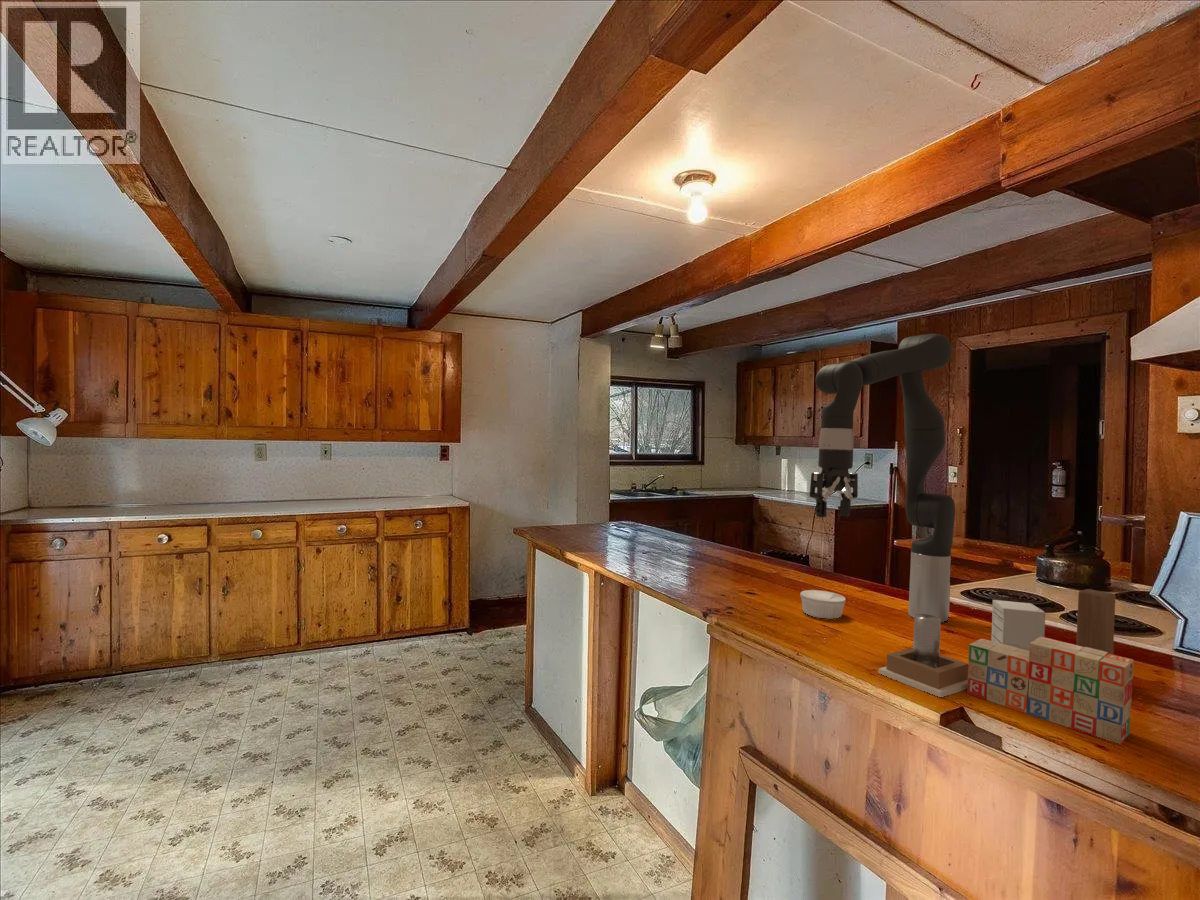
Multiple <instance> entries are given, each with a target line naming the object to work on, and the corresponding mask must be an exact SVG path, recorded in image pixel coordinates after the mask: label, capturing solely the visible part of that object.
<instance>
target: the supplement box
mask: <svg viewBox="0 0 1200 900" xmlns="http://www.w3.org/2000/svg"><path fill="white" fill-rule="evenodd" d="M991 612H992V616H991V637H990V638H991V640H990V641H993V642H997V643H1001V644H1005V645H1009V646H1012V647H1016V648H1019V649H1023V650H1027V651H1029V649H1030V643H1031V642H1033V641H1035V640H1036V639H1037V638H1039V637H1044V638H1045V634H1046V633H1045V631H1046V612H1045V611H1044V610H1043V609H1041V608H1040V607H1037V606H1036V605H1034V604H1033V603H1031V602H1030V603H1029V602H1020V601H1019V602H1018V601H1010V600H1009V601H1008V600H1000V599H999V600H998V599H992V611H991Z"/></svg>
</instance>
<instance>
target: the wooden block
mask: <svg viewBox="0 0 1200 900" xmlns="http://www.w3.org/2000/svg"><path fill="white" fill-rule="evenodd" d="M1077 595H1078V596H1077V597H1078V599H1077V600H1078V601H1077V619H1076V620H1077V622H1076V623H1077V624H1076V639H1075V640H1076V644H1075V645H1078V646H1082V647H1088V648H1093V649H1097V650H1101V651H1105V652H1108V654H1113V655H1115V651H1114V641H1115V640H1114V639H1115V638H1114V637H1115V613H1116V594H1115V593H1113V592H1107V591H1101V590H1095V589H1091V588H1087V589H1086V588H1085V589H1083V590H1079V591H1078V594H1077Z"/></svg>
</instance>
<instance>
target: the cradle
mask: <svg viewBox="0 0 1200 900" xmlns="http://www.w3.org/2000/svg"><path fill="white" fill-rule="evenodd" d="M968 665H969V662H964V661H960V660H958V659H955V658H952V657H949V656H945V655H943V654H940V653H939V667H938V668H933V667H930V666H927V665H924V664H921V663H919V662H916V661H913V647H911V648H906V649H902V650H898V651H895V652H891V653H887V654H886V666H883V667H880V668H878V673H879V675H881V674H882V676H883V675H884V676H883V677H886V676H887V678H889V679H891V678H892V680H894V681H896V680H897V682H900V683H901V684H903V685H907V686H909V687H911V688H913V689H917V690H919V691H922V692H924V691H925V693H927V692H928V693H927V694H929V693H930V695H932V694H933V695H932V696H934V695H935V697H937V696H938V698H939V697H942V698H945V697H947V695H948V696H951V695H954V694H956V693H959V692H963V691H965V690H967V686H968ZM944 696H945V697H944Z"/></svg>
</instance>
